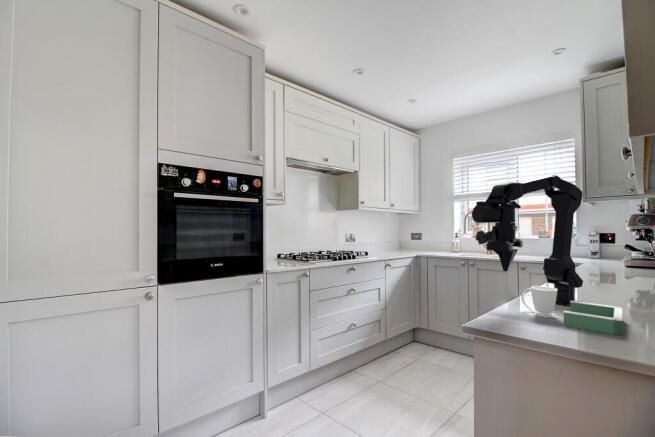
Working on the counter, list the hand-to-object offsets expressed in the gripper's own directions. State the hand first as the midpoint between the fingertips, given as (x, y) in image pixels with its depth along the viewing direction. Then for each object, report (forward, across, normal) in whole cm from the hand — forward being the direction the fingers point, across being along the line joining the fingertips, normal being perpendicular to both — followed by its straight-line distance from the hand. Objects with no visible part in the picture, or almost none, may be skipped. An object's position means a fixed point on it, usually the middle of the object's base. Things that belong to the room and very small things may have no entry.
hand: (505, 271), depth 103 cm
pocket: (+12, 0, +21) cm, 24 cm away
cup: (+12, 0, +9) cm, 15 cm away
